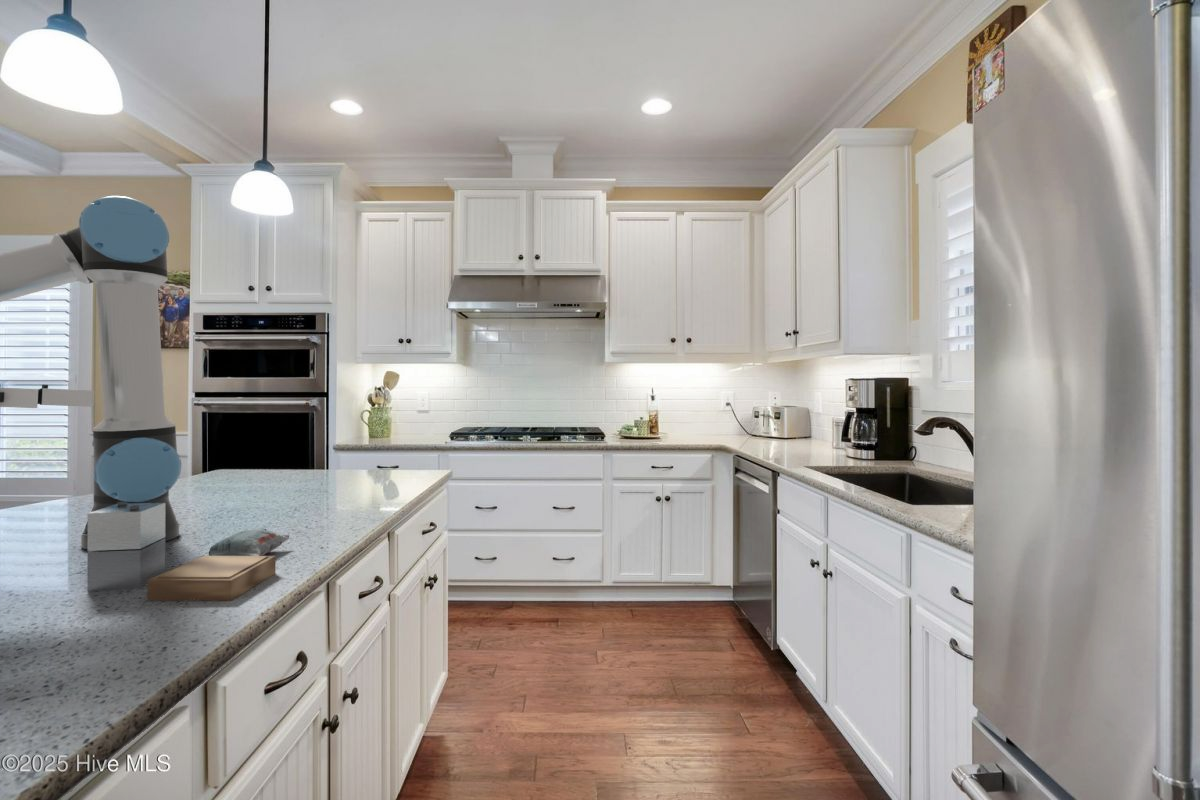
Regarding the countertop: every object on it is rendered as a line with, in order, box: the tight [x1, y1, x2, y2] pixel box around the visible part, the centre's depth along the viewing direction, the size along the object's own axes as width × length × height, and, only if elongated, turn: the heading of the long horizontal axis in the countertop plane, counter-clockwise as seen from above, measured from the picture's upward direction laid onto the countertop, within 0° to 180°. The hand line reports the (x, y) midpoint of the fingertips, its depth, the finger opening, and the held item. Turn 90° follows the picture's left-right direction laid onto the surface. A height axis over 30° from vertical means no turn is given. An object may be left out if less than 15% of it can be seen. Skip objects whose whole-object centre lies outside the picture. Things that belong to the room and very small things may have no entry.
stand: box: [146, 555, 277, 602], centre depth 87 cm, size 12×12×3 cm
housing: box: [87, 501, 166, 592], centre depth 88 cm, size 7×7×13 cm
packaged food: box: [208, 528, 290, 556], centre depth 102 cm, size 9×12×5 cm
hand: (66, 398), depth 85 cm, fingers open, 13 cm apart
